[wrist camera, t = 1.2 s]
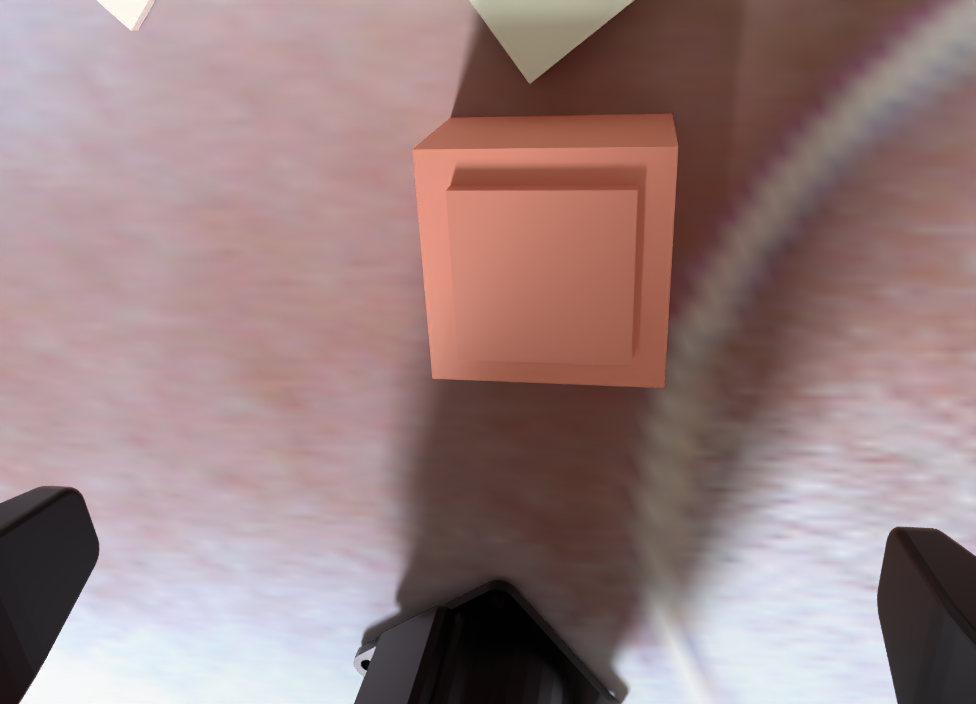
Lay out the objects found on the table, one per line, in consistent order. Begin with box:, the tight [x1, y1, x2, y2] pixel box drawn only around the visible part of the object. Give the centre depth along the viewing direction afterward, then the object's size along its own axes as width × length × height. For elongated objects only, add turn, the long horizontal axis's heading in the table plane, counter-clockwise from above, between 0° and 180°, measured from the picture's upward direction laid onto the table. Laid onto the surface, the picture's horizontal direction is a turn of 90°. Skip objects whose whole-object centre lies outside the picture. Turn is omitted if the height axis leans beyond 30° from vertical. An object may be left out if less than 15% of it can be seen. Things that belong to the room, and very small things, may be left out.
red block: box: [412, 114, 678, 388], centre depth 17 cm, size 5×5×4 cm
